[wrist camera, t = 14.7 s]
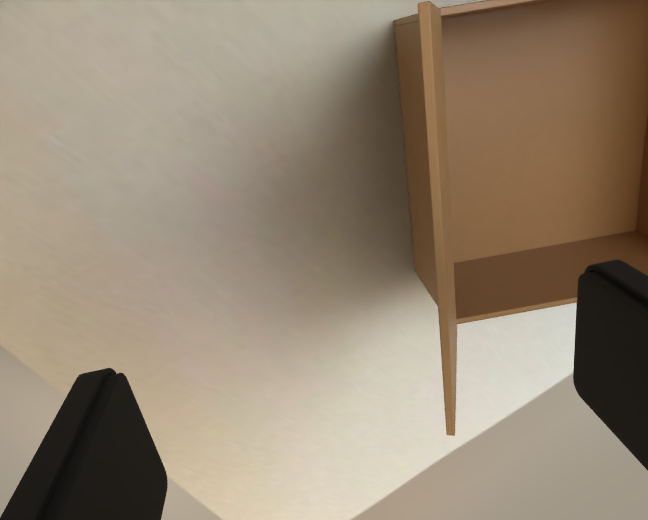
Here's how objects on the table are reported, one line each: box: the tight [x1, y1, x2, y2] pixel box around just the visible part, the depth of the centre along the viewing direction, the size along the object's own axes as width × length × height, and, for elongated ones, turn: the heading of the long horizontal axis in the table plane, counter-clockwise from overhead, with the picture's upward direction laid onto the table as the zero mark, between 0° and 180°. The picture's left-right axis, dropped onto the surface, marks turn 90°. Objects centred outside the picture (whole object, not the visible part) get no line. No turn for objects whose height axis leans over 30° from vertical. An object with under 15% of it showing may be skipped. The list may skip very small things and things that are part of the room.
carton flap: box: [418, 1, 457, 435], centre depth 19 cm, size 7×14×1 cm
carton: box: [394, 0, 648, 324], centre depth 26 cm, size 15×15×7 cm
